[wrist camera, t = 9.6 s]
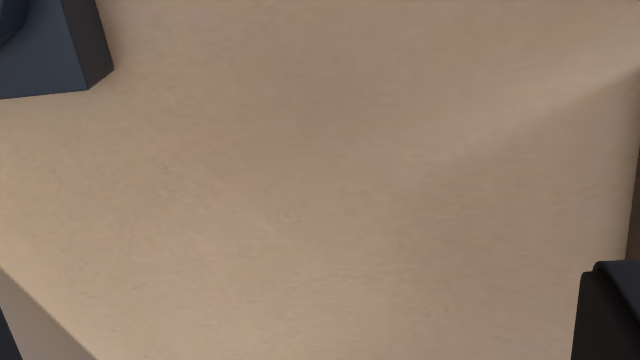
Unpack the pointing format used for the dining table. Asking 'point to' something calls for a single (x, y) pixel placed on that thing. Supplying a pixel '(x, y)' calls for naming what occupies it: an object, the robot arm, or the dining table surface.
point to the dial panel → (635, 222)
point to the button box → (50, 47)
